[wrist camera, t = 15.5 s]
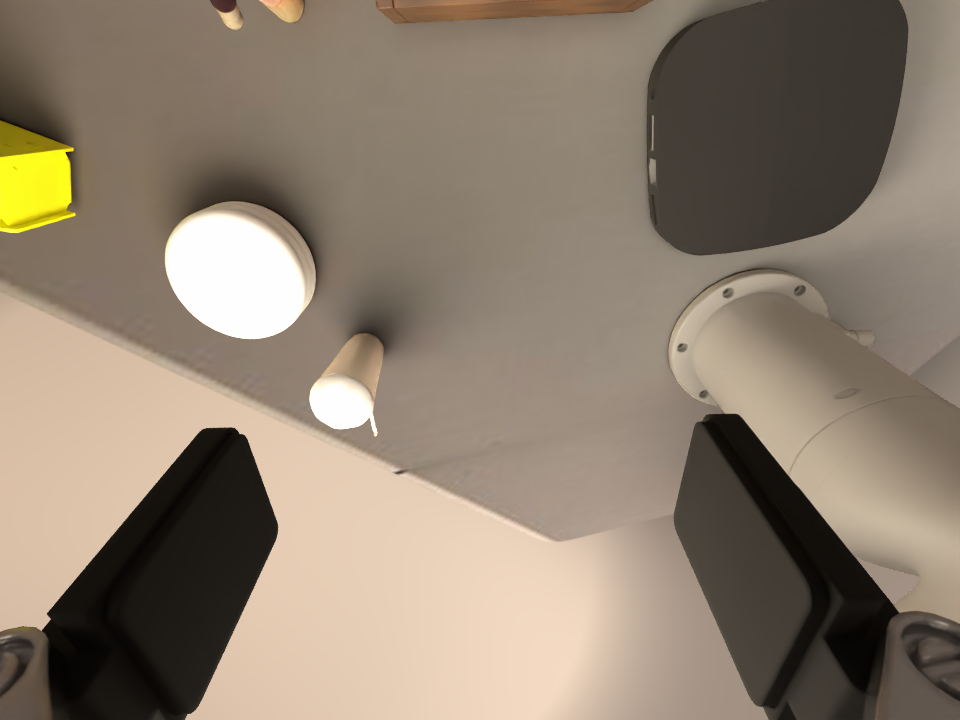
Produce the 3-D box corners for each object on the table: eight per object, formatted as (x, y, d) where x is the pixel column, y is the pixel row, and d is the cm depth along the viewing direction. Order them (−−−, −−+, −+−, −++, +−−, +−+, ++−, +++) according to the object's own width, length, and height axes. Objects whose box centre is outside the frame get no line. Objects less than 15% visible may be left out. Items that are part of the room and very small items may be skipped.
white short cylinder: (280, 182, 34) (260, 191, 31) (338, 305, 39) (326, 323, 36) (161, 221, 35) (131, 233, 32) (231, 335, 40) (210, 354, 37)
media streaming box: (846, 218, 35) (875, 228, 32) (647, 255, 36) (660, 267, 34) (891, -27, 28) (934, -40, 25) (642, 31, 29) (658, 25, 27)
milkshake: (388, 382, 42) (364, 457, 34) (332, 358, 41) (291, 429, 32) (408, 343, 40) (388, 411, 32) (350, 316, 39) (312, 380, 30)
